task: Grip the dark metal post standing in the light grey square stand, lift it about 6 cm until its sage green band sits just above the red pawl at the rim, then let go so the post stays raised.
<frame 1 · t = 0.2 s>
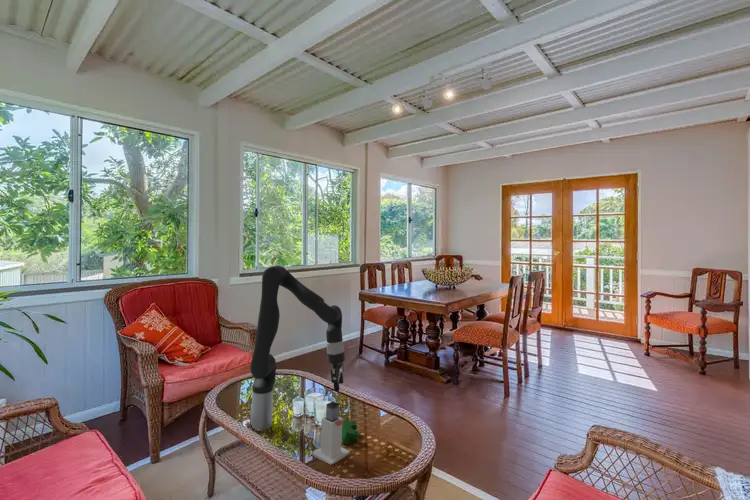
hand: (339, 387, 164), 23 cm above the table, tool pointing down, fingers open, 8 cm apart
column: (331, 427, 151), point 11 cm above the table, slide at 0.0 cm
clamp: (349, 438, 164), on the table
stand housing: (330, 454, 151), on the table
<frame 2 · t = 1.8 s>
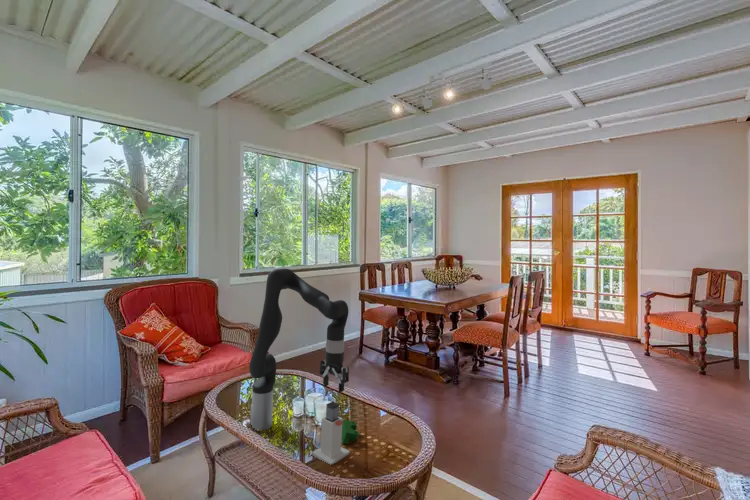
hand: (333, 388, 150), 27 cm above the table, tool pointing down, fingers open, 8 cm apart
nothing on the table moved.
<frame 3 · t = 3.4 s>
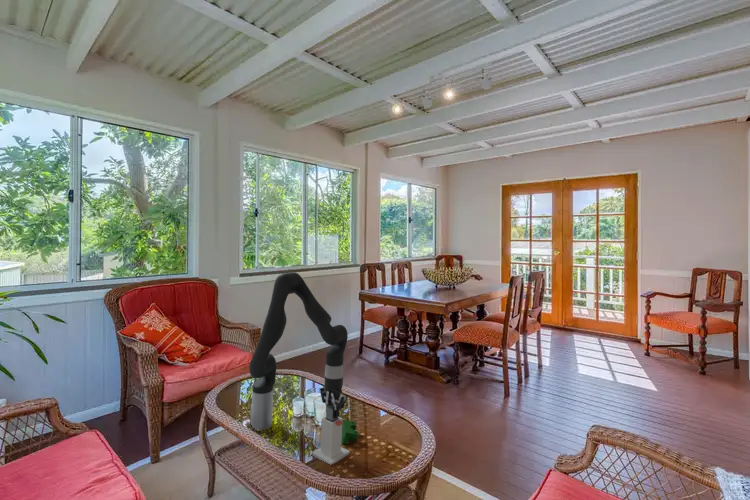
hand: (332, 415, 151), 16 cm above the table, tool pointing down, fingers closed on column, 3 cm apart
column: (331, 427, 151), point 11 cm above the table, slide at 0.0 cm, touching gripper
everything else where it was.
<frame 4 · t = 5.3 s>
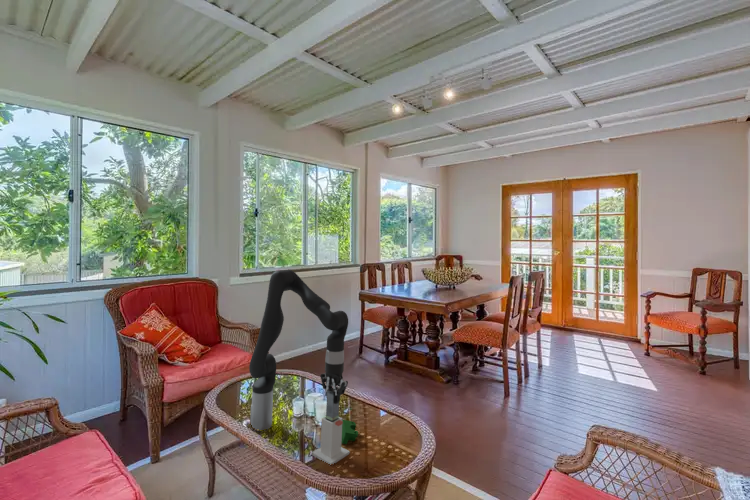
hand: (332, 401, 150), 22 cm above the table, tool pointing down, fingers closed on column, 3 cm apart
column: (332, 413, 151), point 17 cm above the table, slide at 5.9 cm, touching gripper
everything else where it was.
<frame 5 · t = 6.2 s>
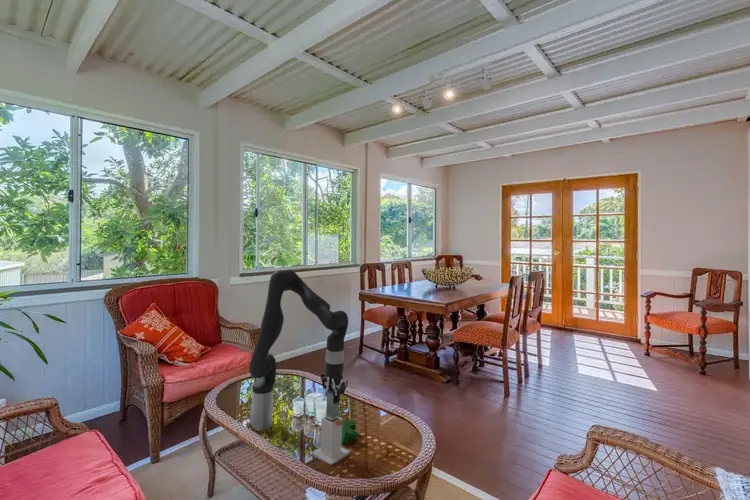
hand: (332, 401, 150), 22 cm above the table, tool pointing down, fingers closed on column, 3 cm apart
column: (332, 413, 151), point 17 cm above the table, slide at 5.9 cm, touching gripper
everything else where it was.
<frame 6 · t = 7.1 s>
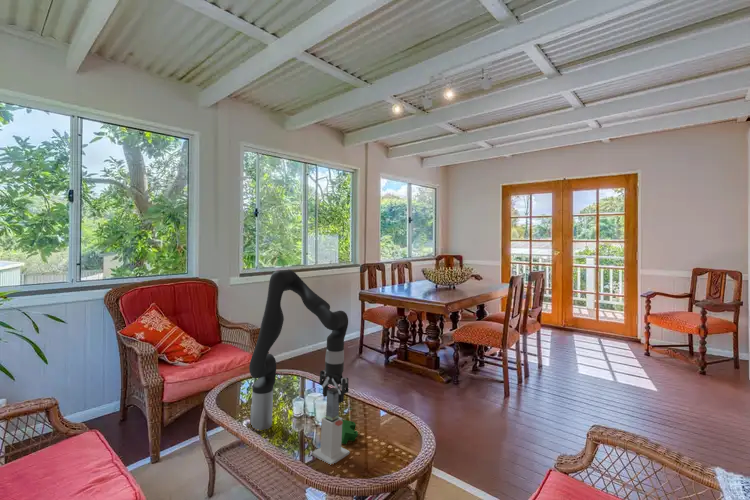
hand: (333, 399, 150), 23 cm above the table, tool pointing down, fingers open, 8 cm apart
column: (332, 413, 151), point 17 cm above the table, slide at 6.0 cm
everything else where it was.
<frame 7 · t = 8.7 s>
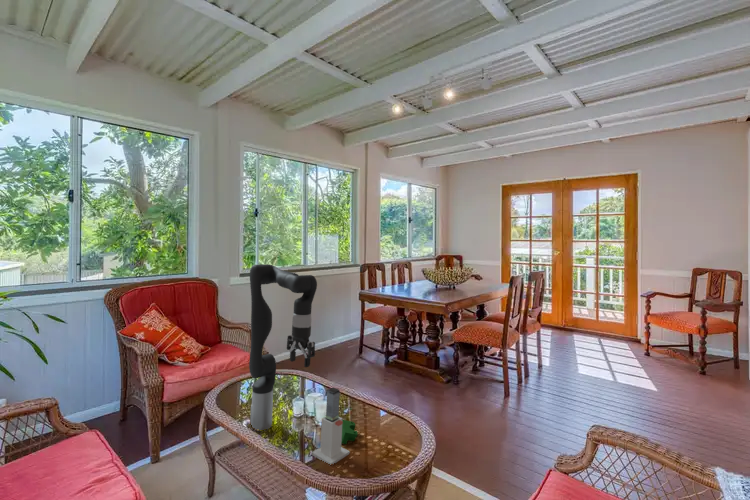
hand: (299, 363, 149), 37 cm above the table, tool pointing down, fingers open, 8 cm apart
nothing on the table moved.
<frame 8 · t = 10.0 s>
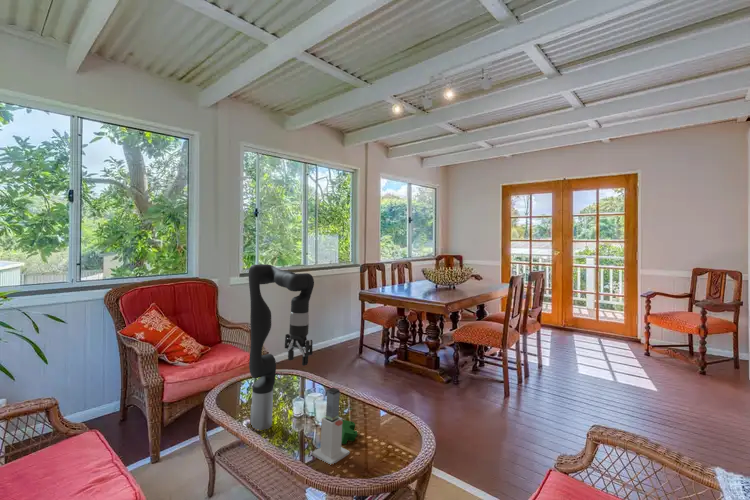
hand: (297, 362, 149), 38 cm above the table, tool pointing down, fingers open, 8 cm apart
nothing on the table moved.
at the end: column slide at 6.0 cm; the gripper is holding nothing; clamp moved 0.9 cm from its start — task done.
